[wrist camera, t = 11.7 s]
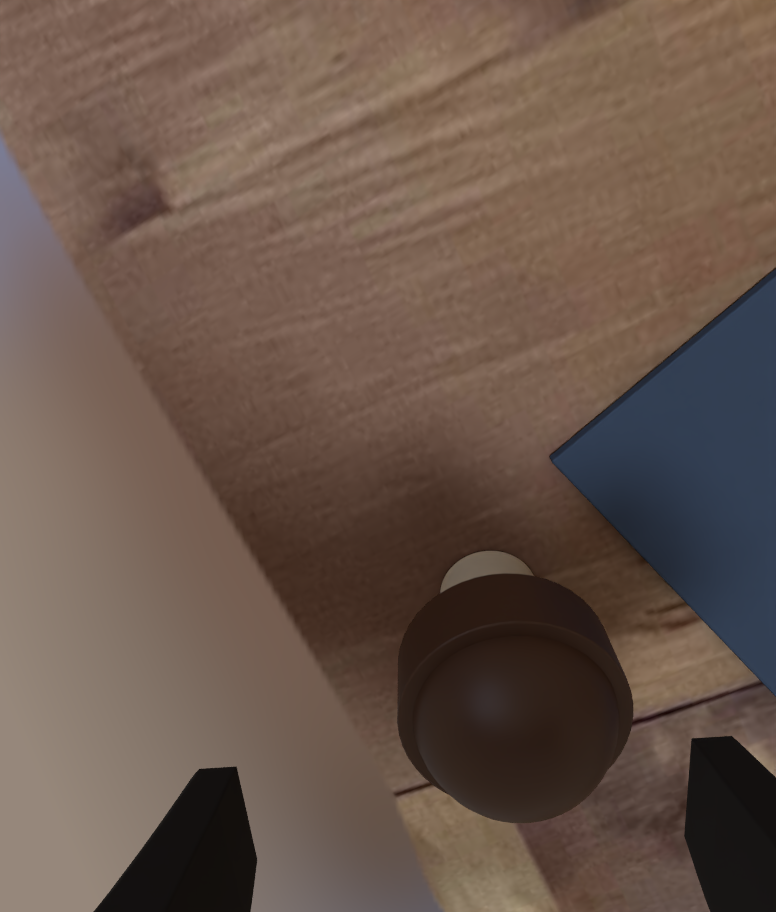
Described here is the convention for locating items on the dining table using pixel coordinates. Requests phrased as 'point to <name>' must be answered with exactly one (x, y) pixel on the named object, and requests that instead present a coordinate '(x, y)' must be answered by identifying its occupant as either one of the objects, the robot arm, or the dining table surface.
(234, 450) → the dining table surface
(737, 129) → the dining table surface
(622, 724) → the mushroom
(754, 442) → the blue flat board
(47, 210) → the dining table surface
